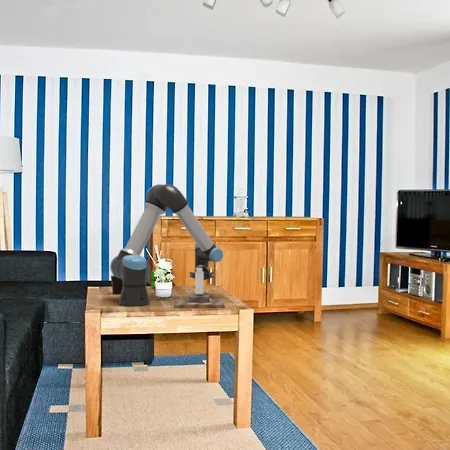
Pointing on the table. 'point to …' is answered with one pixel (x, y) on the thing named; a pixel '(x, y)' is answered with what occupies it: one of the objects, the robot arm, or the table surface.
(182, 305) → the switch base
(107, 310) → the table surface
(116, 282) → the coffee mug
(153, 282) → the puzzle cube
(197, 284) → the switch lever
